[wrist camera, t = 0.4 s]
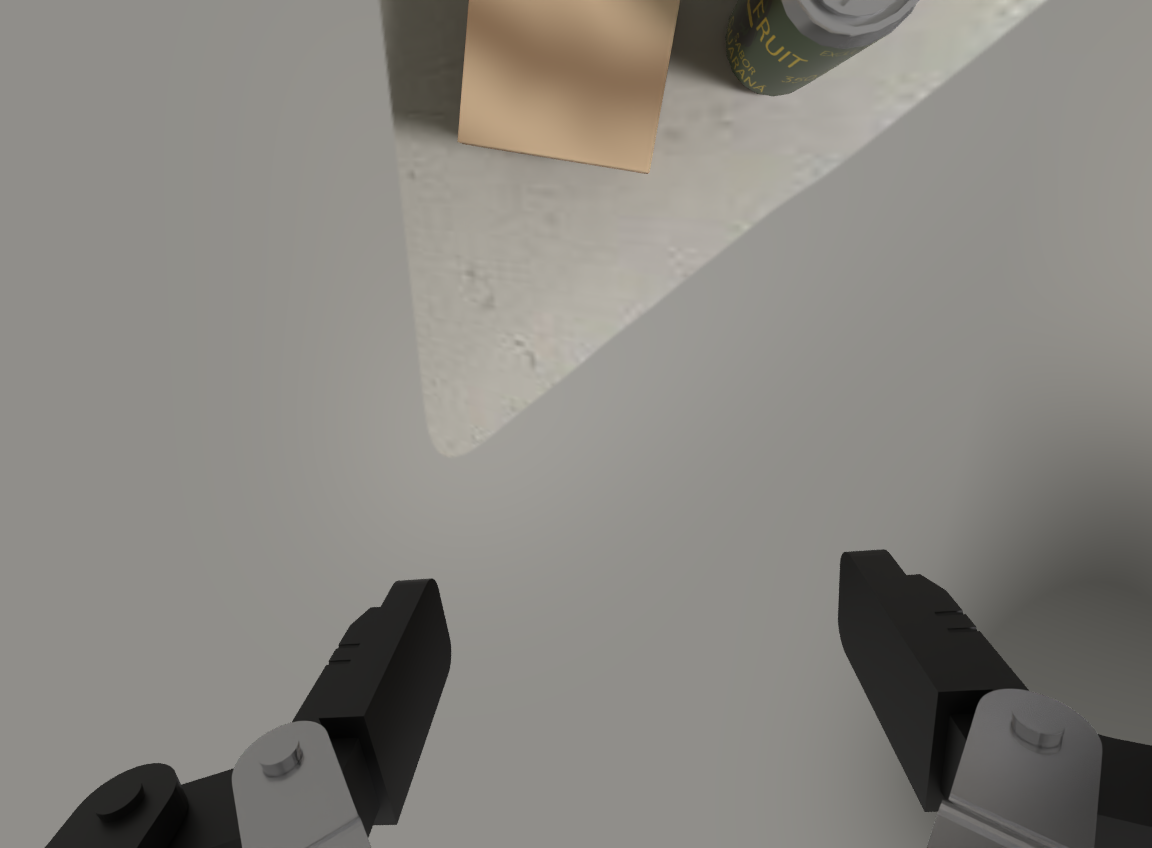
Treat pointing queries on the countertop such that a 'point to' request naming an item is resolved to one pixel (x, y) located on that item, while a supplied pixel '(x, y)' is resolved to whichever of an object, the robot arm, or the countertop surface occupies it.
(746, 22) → the green soda can
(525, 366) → the countertop surface
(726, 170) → the countertop surface
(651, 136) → the stool
